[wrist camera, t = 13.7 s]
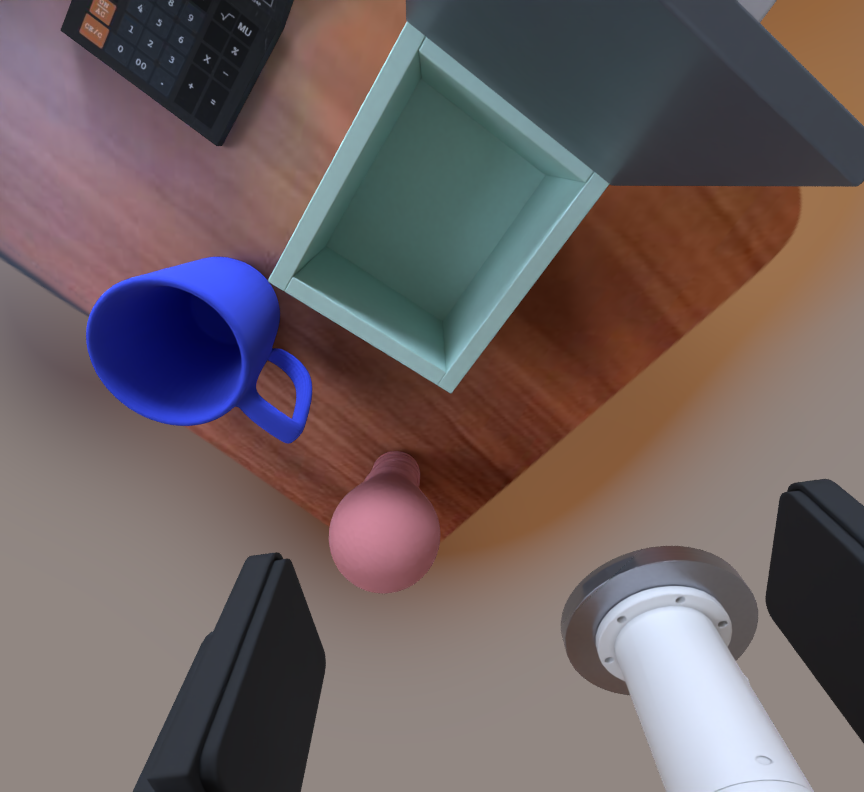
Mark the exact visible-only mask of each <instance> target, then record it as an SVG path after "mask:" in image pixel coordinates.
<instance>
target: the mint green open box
mask: <svg viewBox="0 0 864 792" xmlns="http://www.w3.org/2000/svg"><path fill="white" fill-rule="evenodd" d="M608 185H609V183H608V182H607V181H605V180H604V179H603V178H602V177H600V176H599V175H598V174H597V173H595V172H594V171H593V170H592V169H590V168H589V167H588V166H587V165H585V164H584V163H583V162H582V161H580V160H579V159H578V158H577V157H575V156H574V155H573V154H572V153H570V152H569V151H568V150H567V149H565V148H564V147H563V146H562V145H560V144H559V143H558V142H557V141H555V140H554V139H553V138H552V137H550V136H549V135H548V134H547V133H545V132H544V131H543V130H542V129H540V128H539V127H538V126H537V125H536V124H534V123H533V122H532V121H531V120H529V119H528V118H527V117H526V116H524V115H523V114H522V113H521V112H519V111H518V110H517V109H516V108H514V107H513V106H512V105H511V104H509V103H508V102H507V101H506V100H504V99H503V98H502V97H501V96H499V95H498V94H497V93H496V92H494V91H493V90H492V89H491V88H489V87H488V86H487V85H486V84H484V83H483V82H482V81H481V80H479V79H478V78H477V77H476V76H474V75H473V74H472V73H471V72H469V71H468V70H467V69H466V68H464V67H463V66H462V65H461V64H459V63H458V62H457V61H456V60H455V59H453V58H452V57H451V56H450V55H448V54H447V53H446V52H445V51H443V50H442V49H441V48H440V47H438V46H437V45H436V44H435V43H433V42H432V41H431V40H430V39H428V38H427V37H426V36H425V35H423V34H422V33H421V32H420V31H418V30H417V29H416V28H415V27H413V26H412V25H411V24H410V23H408V22H407V23H406V24H405V26H404V28H403V30H402V32H401V34H400V36H399V37H398V39H397V41H396V43H395V45H394V47H393V49H392V50H391V52H390V54H389V56H388V58H387V60H386V62H385V63H384V65H383V67H382V69H381V71H380V73H379V75H378V77H377V78H376V80H375V82H374V84H373V86H372V88H371V90H370V91H369V93H368V95H367V97H366V99H365V101H364V103H363V104H362V106H361V108H360V110H359V112H358V114H357V116H356V118H355V119H354V121H353V123H352V125H351V127H350V129H349V131H348V132H347V134H346V136H345V138H344V140H343V142H342V144H341V145H340V147H339V149H338V151H337V153H336V155H335V157H334V158H333V160H332V162H331V164H330V166H329V168H328V170H327V172H326V173H325V175H324V177H323V179H322V181H321V183H320V185H319V186H318V188H317V190H316V192H315V194H314V196H313V198H312V199H311V201H310V203H309V205H308V207H307V209H306V211H305V212H304V214H303V216H302V218H301V220H300V222H299V224H298V226H297V227H296V229H295V231H294V233H293V235H292V237H291V239H290V240H289V242H288V244H287V246H286V248H285V250H284V252H283V253H282V255H281V257H280V259H279V261H278V263H277V265H276V266H275V268H274V270H273V272H272V274H271V276H270V278H269V280H268V282H270V283H271V284H273V285H274V286H276V287H278V288H279V289H281V290H283V291H285V292H286V293H288V294H289V295H291V296H293V297H294V298H296V299H298V300H299V301H301V302H302V303H304V304H306V305H307V306H309V307H311V308H312V309H314V310H315V311H317V312H319V313H320V314H322V315H324V316H325V317H327V318H329V319H330V320H332V321H333V322H335V323H337V324H338V325H340V326H342V327H343V328H345V329H346V330H348V331H350V332H351V333H353V334H355V335H356V336H358V337H360V338H361V339H363V340H364V341H366V342H368V343H369V344H371V345H373V346H374V347H376V348H377V349H379V350H381V351H382V352H384V353H386V354H387V355H389V356H391V357H392V358H394V359H395V360H397V361H399V362H400V363H402V364H404V365H405V366H407V367H408V368H410V369H412V370H413V371H415V372H417V373H418V374H420V375H422V376H423V377H425V378H426V379H428V380H430V381H431V382H433V383H435V384H436V385H437V384H438V386H439V387H441V388H443V389H444V390H446V391H448V392H449V393H452V392H453V390H454V389H455V388H456V387H457V385H458V384H459V383H460V381H461V380H462V379H463V377H464V376H465V375H466V373H467V372H468V371H469V369H470V368H471V367H472V365H473V364H474V363H475V361H476V360H477V359H478V357H479V356H480V355H481V353H482V352H483V351H484V349H485V348H486V347H487V345H488V344H489V343H490V342H491V340H492V339H493V338H494V336H495V335H496V334H497V332H498V331H499V330H500V328H501V327H502V326H503V324H504V323H505V322H506V320H507V319H508V318H509V316H510V315H511V314H512V312H513V311H514V310H515V308H516V307H517V306H518V304H519V303H520V302H521V300H522V299H523V298H524V297H525V295H526V294H527V293H528V291H529V290H530V289H531V287H532V286H533V285H534V283H535V282H536V281H537V279H538V278H539V277H540V275H541V274H542V273H543V271H544V270H545V269H546V267H547V266H548V265H549V263H550V262H551V261H552V259H553V258H554V257H555V255H556V254H557V253H558V252H559V250H560V249H561V248H562V246H563V245H564V244H565V242H566V241H567V240H568V238H569V237H570V236H571V234H572V233H573V232H574V230H575V229H576V228H577V226H578V225H579V224H580V222H581V221H582V220H583V218H584V217H585V216H586V214H587V213H588V212H589V210H590V209H591V208H592V207H593V205H594V204H595V203H596V201H597V200H598V199H599V197H600V196H601V195H602V193H603V192H604V191H605V189H606V188H607V187H608Z"/></svg>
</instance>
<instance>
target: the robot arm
mask: <svg viewBox="0 0 864 792" xmlns="http://www.w3.org/2000/svg"><path fill="white" fill-rule="evenodd" d="M766 606H767V609H768V612H769V614H770V616H771V617H772V619H773V621H774V622H775V623H776V625H777V626H778V627H779V629H780V630H781V631H782V633H783V634H784V636H785V637H786V638H787V639H788V641H789V642H790V644H791V645H792V646H793V648H794V649H795V651H796V652H797V653H798V655H799V656H800V657H801V659H802V660H803V661H804V663H805V664H806V665H807V667H808V668H809V670H810V671H811V672H812V674H813V675H814V676H815V678H816V679H817V680H818V682H819V683H820V685H821V686H822V687H823V689H824V690H825V691H826V693H827V694H828V695H829V697H830V698H831V700H832V701H833V702H834V704H835V705H836V706H837V708H838V709H839V710H840V712H841V713H842V714H843V716H844V717H845V718H846V720H847V721H848V723H849V724H850V725H851V727H852V728H853V730H854V731H855V732H856V734H857V735H858V736H859V737H860V739H861V740H862V742H863V743H864V506H863V505H862V504H861V503H859V502H858V501H857V500H856V499H854V498H853V497H852V496H851V495H850V494H848V493H847V492H846V491H845V490H843V489H842V488H841V487H840V486H839V485H837V484H836V483H835V482H833V481H831V480H829V479H820V480H813V481H805V482H798V483H793V484H791V485H790V486H789V488H788V491H787V492H785V493H782V495H781V496H780V500H779V507H778V514H777V521H776V528H775V534H774V541H773V548H772V556H771V562H770V570H769V577H768V584H767V591H766ZM731 636H732V624H731V621H730V618H729V616H728V614H727V612H726V611H725V609H724V608H723V606H722V605H721V604H720V603H719V602H718V601H717V600H716V599H715V598H714V597H713V596H711V595H709V594H707V593H706V592H704V591H701V590H698V589H695V588H690V587H684V586H664V587H656V588H652V589H648V590H644V591H641V592H639V593H636V594H634V595H632V596H630V597H628V598H626V599H625V600H623V601H621V602H620V603H618V604H617V605H616V606H615V607H614V608H612V609H611V610H610V611H609V612H608V613H607V615H606V616H605V617H604V618H603V620H602V621H601V623H600V625H599V627H598V630H597V633H596V648H597V652H598V655H599V658H600V661H601V663H602V664H603V666H604V667H605V668H606V669H607V671H609V672H610V673H611V674H612V675H614V676H615V677H617V678H619V679H621V680H623V681H625V682H626V685H627V687H628V690H629V693H630V695H631V698H632V701H633V704H634V706H635V709H636V712H637V714H638V717H639V720H640V722H641V725H642V728H643V731H644V733H645V736H646V739H647V741H648V744H649V747H650V749H651V752H652V755H653V758H654V761H655V763H656V766H657V769H658V771H659V774H660V777H661V779H662V782H663V785H664V788H665V790H666V792H814V791H813V789H812V787H811V786H810V784H809V782H808V781H807V779H806V777H805V776H804V774H803V772H802V771H801V769H800V767H799V766H798V764H797V762H796V761H795V759H794V757H793V756H792V754H791V752H790V751H789V749H788V747H787V746H786V744H785V742H784V741H783V739H782V737H781V736H780V734H779V732H778V731H777V729H776V727H775V726H774V724H773V722H772V721H771V719H770V717H769V716H768V714H767V712H766V711H765V709H764V707H763V706H762V704H761V702H760V701H759V699H758V697H757V696H756V694H755V692H754V691H753V689H752V687H751V686H750V684H749V680H748V678H747V677H746V676H744V674H743V672H742V671H741V669H740V667H739V666H738V664H737V662H736V661H735V659H734V657H733V656H732V654H731V652H730V651H729V649H728V645H729V643H730V641H731ZM325 666H326V660H325V652H324V649H323V646H322V644H321V641H320V638H319V635H318V633H317V630H316V627H315V624H314V622H313V619H312V616H311V613H310V611H309V608H308V605H307V602H306V600H305V597H304V594H303V592H302V589H301V586H300V583H299V580H298V578H297V575H296V572H295V569H294V567H293V564H292V562H291V560H290V559H283V557H282V556H281V554H280V553H269V554H261V555H254V556H249V557H248V558H247V560H246V561H245V563H244V565H243V567H242V569H241V572H240V574H239V576H238V578H237V580H236V583H235V585H234V587H233V589H232V591H231V594H230V596H229V598H228V600H227V602H226V605H225V607H224V609H223V611H222V614H221V616H220V618H219V620H218V622H217V624H216V627H215V629H214V631H213V632H211V633H210V634H209V635H207V636H206V637H205V639H204V641H203V643H202V644H201V646H200V648H199V651H198V653H197V655H196V657H195V659H194V661H193V663H192V666H191V668H190V670H189V672H188V674H187V676H186V678H185V681H184V683H183V685H182V687H181V689H180V691H179V693H178V695H177V698H176V700H175V702H174V704H173V706H172V709H171V710H170V713H169V715H168V717H167V719H166V721H165V723H164V726H163V728H162V730H161V732H160V734H159V736H158V738H157V741H156V743H155V745H154V747H153V749H152V751H151V753H150V756H149V758H148V760H147V762H146V764H145V767H144V769H143V771H142V773H141V775H140V777H139V779H138V781H137V784H136V786H135V788H134V790H133V792H301V787H302V783H303V778H304V773H305V768H306V762H307V758H308V753H309V748H310V743H311V738H312V733H313V728H314V723H315V718H316V713H317V709H318V704H319V699H320V694H321V689H322V684H323V679H324V674H325Z"/></svg>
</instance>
